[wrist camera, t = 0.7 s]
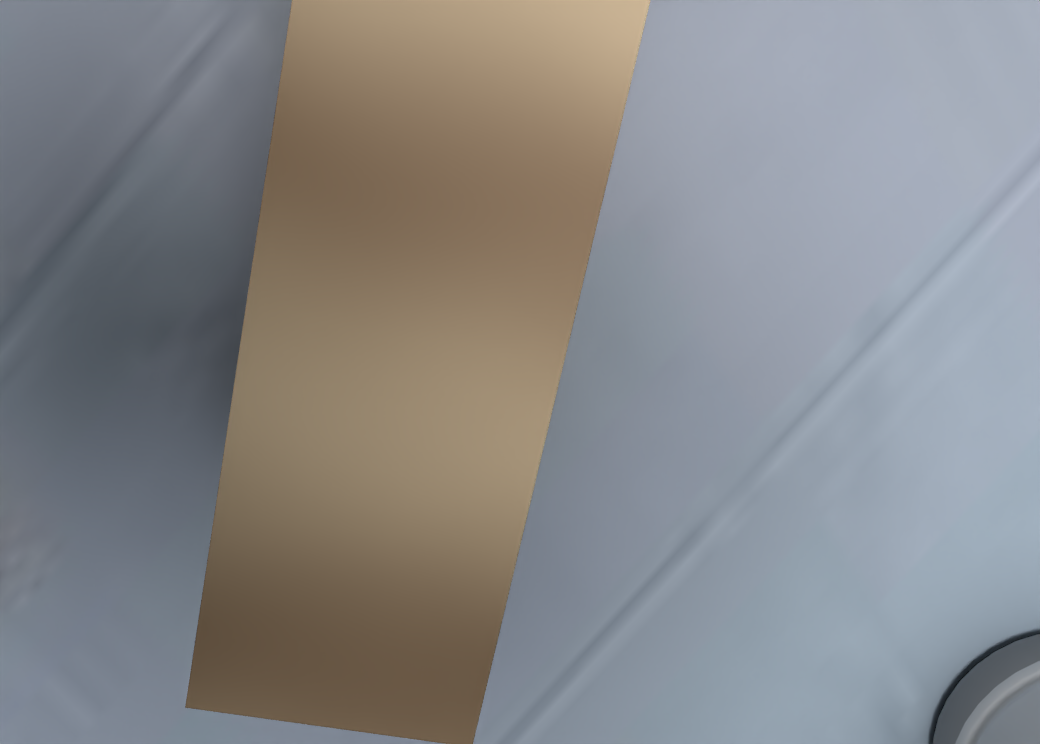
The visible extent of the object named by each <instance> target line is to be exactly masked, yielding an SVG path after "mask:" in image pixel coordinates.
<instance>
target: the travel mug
mask: <svg viewBox="0 0 1040 744" xmlns="http://www.w3.org/2000/svg"><path fill="white" fill-rule="evenodd" d="M933 744H1040V634H1037V635H1034V636H1031V637H1027V638H1024V639H1021V640H1018V641H1015V642H1013V643H1011V644H1009V645H1007V646H1005V647H1003V648H1001V649H999V650H997V651H995V652H993V653H992V654H991V655H989V656H988V657H986V658H985V659H984V660H982V661H981V662H980V663H978V664H977V665H975V666H974V667H973V668H972V669H971V670H970V671H969V672H968V673H967V674H966V675H965V676H964V677H963V678H962V679H961V680H960V682H959V683H958V684H957V686H956V687H955V689H954V690H953V691H952V693H951V694H950V696H949V697H948V699H947V700H946V703H945V705H944V707H943V709H942V711H941V713H940V716H939V718H938V721H937V726H936V730H935V734H934V738H933Z"/></svg>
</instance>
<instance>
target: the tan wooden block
mask: <svg viewBox="0 0 1040 744" xmlns="http://www.w3.org/2000/svg"><path fill="white" fill-rule="evenodd" d="M649 4H650V0H292V4H291V11H290V17H289V24H288V30H287V37H286V44H285V50H284V57H283V64H282V70H281V77H280V83H279V90H278V97H277V103H276V110H275V117H274V123H273V130H272V136H271V143H270V150H269V156H268V163H267V170H266V176H265V183H264V189H263V196H262V203H261V209H260V216H259V223H258V229H257V236H256V242H255V249H254V256H253V262H252V269H251V275H250V282H249V289H248V295H247V302H246V309H245V315H244V322H243V328H242V335H241V342H240V348H239V355H238V362H237V368H236V375H235V381H234V388H233V395H232V401H231V408H230V415H229V421H228V428H227V434H226V441H225V448H224V454H223V461H222V468H221V474H220V481H219V487H218V494H217V501H216V507H215V514H214V521H213V527H212V534H211V540H210V547H209V554H208V560H207V567H206V574H205V580H204V587H203V593H202V600H201V607H200V613H199V620H198V627H197V633H196V640H195V646H194V653H193V660H192V666H191V673H190V680H189V686H188V693H187V699H186V706H185V708H192V709H200V710H207V711H214V712H221V713H228V714H236V715H243V716H250V717H257V718H265V719H272V720H279V721H286V722H294V723H301V724H308V725H315V726H323V727H330V728H337V729H344V730H351V731H359V732H366V733H373V734H380V735H388V736H395V737H402V738H409V739H417V740H424V741H431V742H438V743H446V744H473V740H474V736H475V732H476V728H477V724H478V720H479V715H480V711H481V707H482V703H483V699H484V694H485V690H486V686H487V682H488V678H489V674H490V669H491V665H492V661H493V657H494V653H495V648H496V644H497V640H498V636H499V632H500V628H501V623H502V619H503V615H504V611H505V607H506V602H507V598H508V594H509V590H510V586H511V582H512V577H513V573H514V569H515V565H516V561H517V556H518V552H519V548H520V544H521V540H522V535H523V531H524V527H525V523H526V519H527V515H528V510H529V506H530V502H531V498H532V494H533V489H534V485H535V481H536V477H537V473H538V469H539V464H540V460H541V456H542V452H543V448H544V443H545V439H546V435H547V431H548V427H549V423H550V418H551V414H552V410H553V406H554V402H555V397H556V393H557V389H558V385H559V381H560V376H561V372H562V368H563V364H564V360H565V356H566V351H567V347H568V343H569V339H570V335H571V330H572V326H573V322H574V318H575V314H576V310H577V305H578V301H579V297H580V293H581V289H582V284H583V280H584V276H585V272H586V268H587V264H588V259H589V255H590V251H591V247H592V243H593V238H594V234H595V230H596V226H597V222H598V217H599V213H600V209H601V205H602V201H603V197H604V192H605V188H606V184H607V180H608V176H609V171H610V167H611V163H612V159H613V155H614V151H615V146H616V142H617V138H618V134H619V130H620V125H621V121H622V117H623V113H624V109H625V105H626V100H627V96H628V92H629V88H630V84H631V79H632V75H633V71H634V67H635V63H636V58H637V54H638V50H639V46H640V42H641V38H642V33H643V29H644V25H645V21H646V17H647V12H648V8H649Z"/></svg>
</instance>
